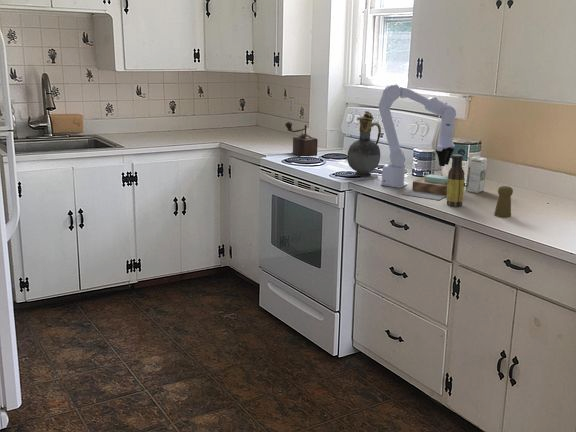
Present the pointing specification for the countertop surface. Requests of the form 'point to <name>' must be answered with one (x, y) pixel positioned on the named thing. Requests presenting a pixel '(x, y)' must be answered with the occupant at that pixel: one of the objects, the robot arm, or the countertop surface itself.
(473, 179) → the syrup box
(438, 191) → the deck
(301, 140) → the manual coffee grinder
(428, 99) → the robot arm
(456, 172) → the sauce bottle
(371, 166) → the pitcher
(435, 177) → the pale teal block
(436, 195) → the mat
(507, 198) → the cork
